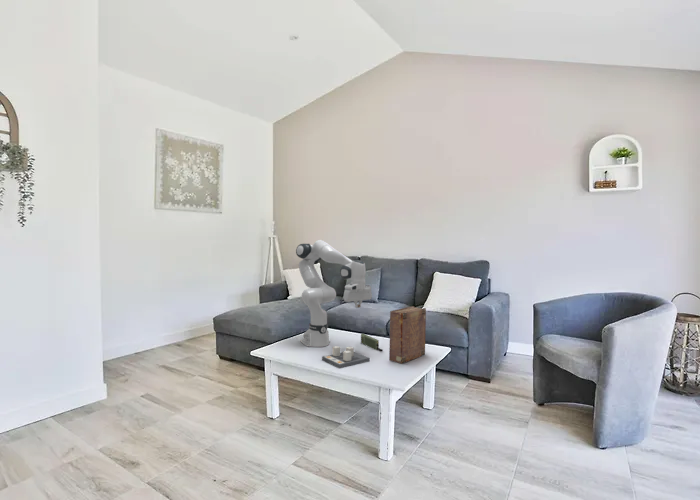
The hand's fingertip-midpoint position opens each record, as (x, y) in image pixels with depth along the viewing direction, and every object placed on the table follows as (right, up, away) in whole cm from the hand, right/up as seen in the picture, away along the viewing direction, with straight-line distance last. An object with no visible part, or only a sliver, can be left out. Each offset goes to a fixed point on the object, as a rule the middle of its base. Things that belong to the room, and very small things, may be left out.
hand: (357, 307), depth 246 cm
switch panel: (-8, -30, -14) cm, 34 cm away
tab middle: (-5, -27, -13) cm, 30 cm away
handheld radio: (+10, -29, +14) cm, 34 cm away
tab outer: (-7, -28, -21) cm, 35 cm away
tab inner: (-13, -27, -12) cm, 32 cm away
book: (+31, -30, -7) cm, 43 cm away
